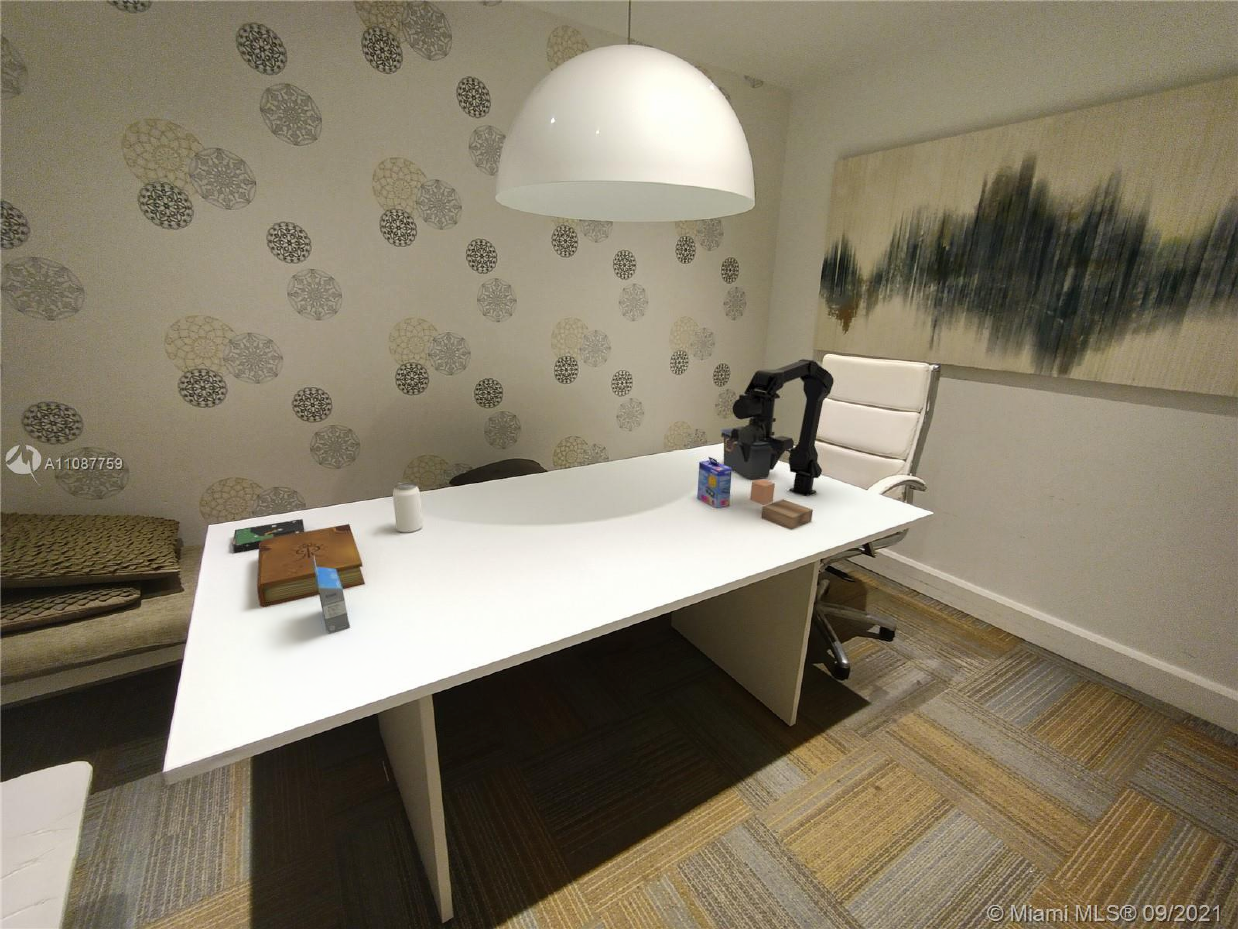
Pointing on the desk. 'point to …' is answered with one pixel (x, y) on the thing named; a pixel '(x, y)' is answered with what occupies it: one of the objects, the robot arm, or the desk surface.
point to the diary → (305, 563)
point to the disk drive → (263, 534)
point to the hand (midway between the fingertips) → (758, 465)
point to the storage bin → (757, 460)
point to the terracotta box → (762, 491)
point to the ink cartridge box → (714, 483)
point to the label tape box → (331, 599)
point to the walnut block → (787, 514)
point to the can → (407, 507)
